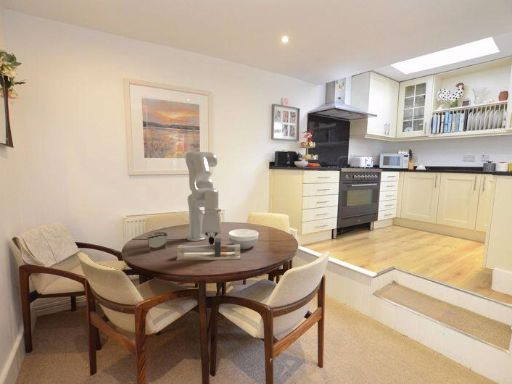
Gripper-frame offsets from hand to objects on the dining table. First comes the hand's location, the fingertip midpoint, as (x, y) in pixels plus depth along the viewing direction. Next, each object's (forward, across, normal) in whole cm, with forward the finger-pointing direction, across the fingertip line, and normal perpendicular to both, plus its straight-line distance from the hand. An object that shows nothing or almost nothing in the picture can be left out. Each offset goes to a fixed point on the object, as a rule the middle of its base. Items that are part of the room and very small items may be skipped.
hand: (211, 244), depth 138 cm
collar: (+6, -4, 0) cm, 7 cm away
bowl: (+8, -19, -18) cm, 27 cm away
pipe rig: (+7, +1, 0) cm, 7 cm away
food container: (+8, +34, -14) cm, 38 cm away
